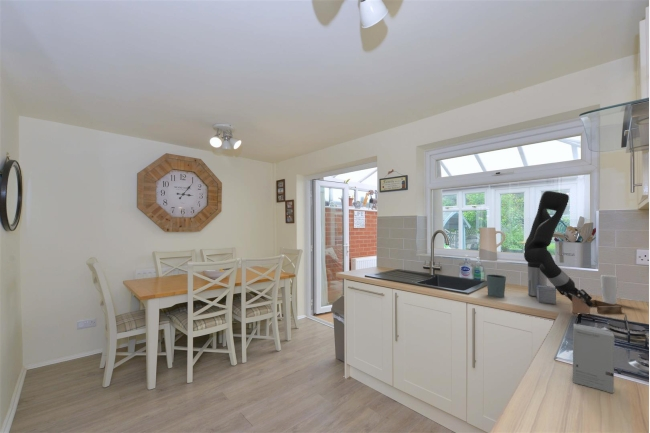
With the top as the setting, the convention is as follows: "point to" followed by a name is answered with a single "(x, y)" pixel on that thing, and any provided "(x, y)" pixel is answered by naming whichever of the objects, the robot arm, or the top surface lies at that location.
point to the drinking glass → (609, 288)
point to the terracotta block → (579, 306)
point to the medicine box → (546, 294)
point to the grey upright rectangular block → (593, 357)
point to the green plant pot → (496, 285)
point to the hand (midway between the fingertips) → (582, 303)
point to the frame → (606, 307)
